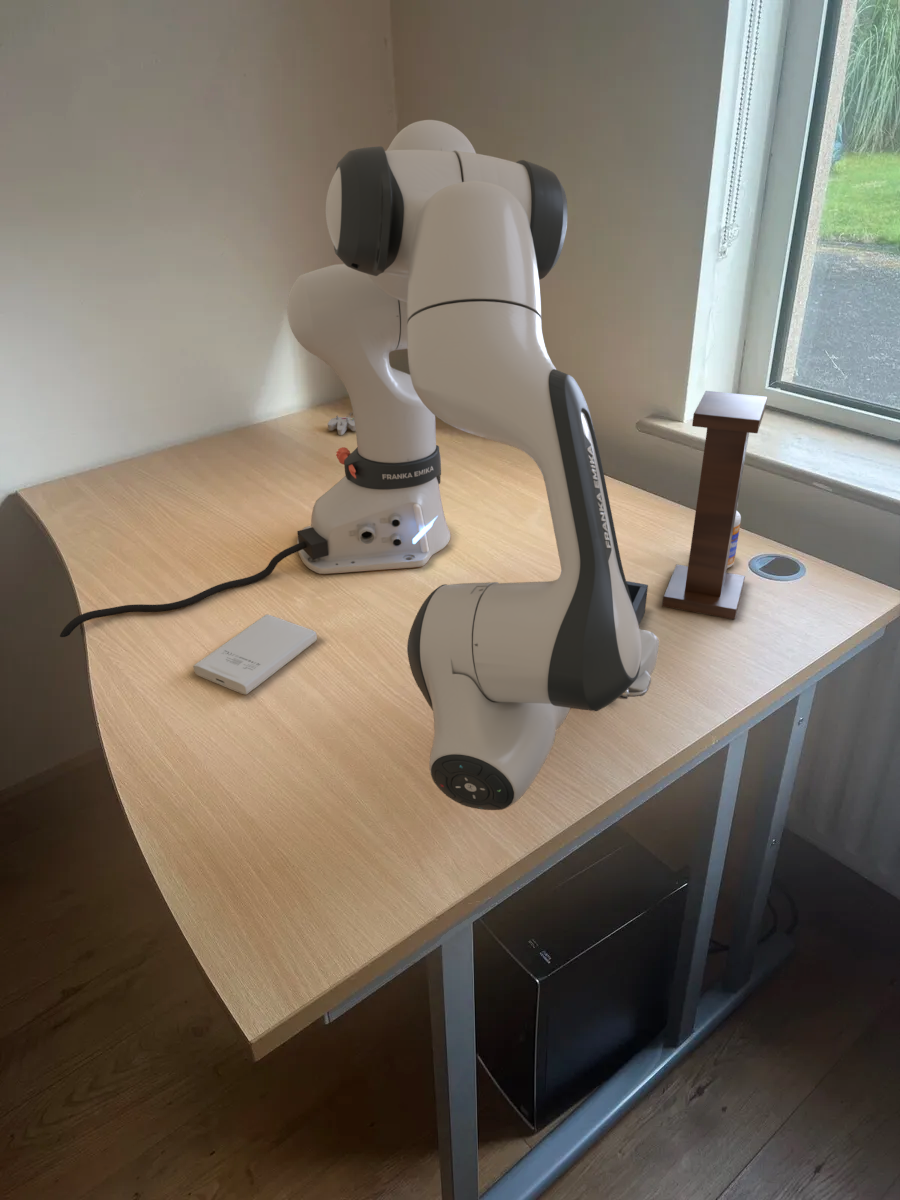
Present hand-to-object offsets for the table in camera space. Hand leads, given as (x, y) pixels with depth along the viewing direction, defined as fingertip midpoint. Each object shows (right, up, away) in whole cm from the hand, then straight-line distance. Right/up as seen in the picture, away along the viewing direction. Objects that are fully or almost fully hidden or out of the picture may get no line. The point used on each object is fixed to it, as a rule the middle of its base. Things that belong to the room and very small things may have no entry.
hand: (573, 604), depth 91 cm
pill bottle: (+24, +6, +29) cm, 38 cm away
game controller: (-33, +35, +79) cm, 93 cm away
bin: (+3, -5, +12) cm, 13 cm away
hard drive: (-36, -7, +11) cm, 38 cm away
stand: (+20, +1, +21) cm, 29 cm away
